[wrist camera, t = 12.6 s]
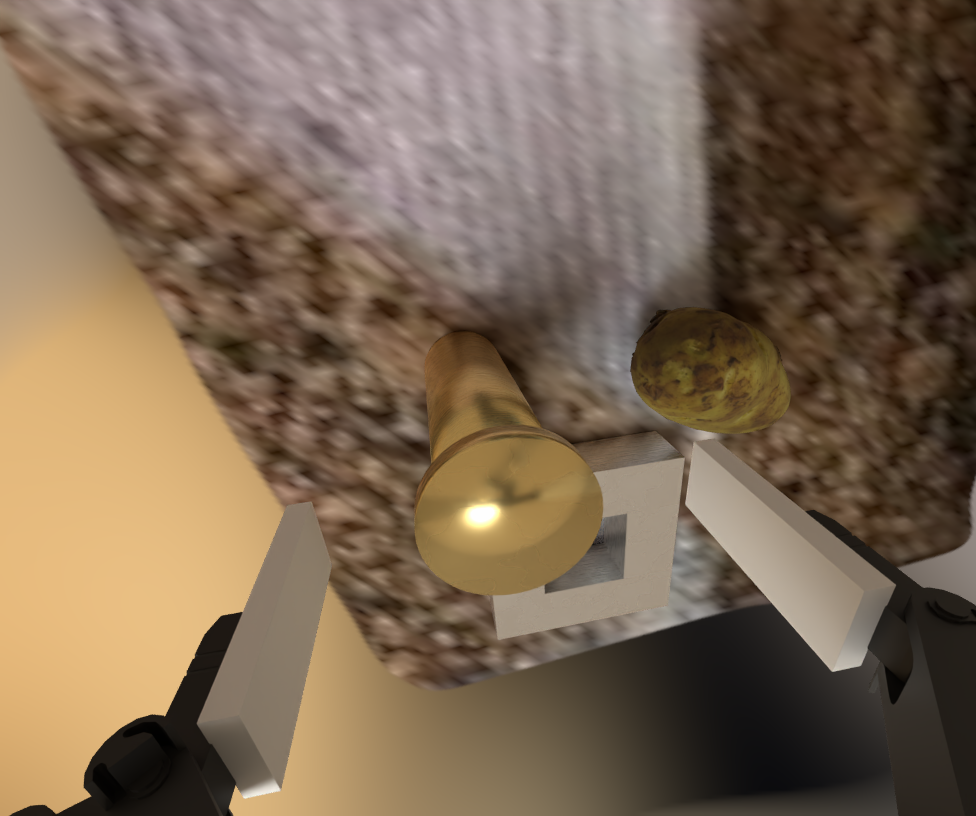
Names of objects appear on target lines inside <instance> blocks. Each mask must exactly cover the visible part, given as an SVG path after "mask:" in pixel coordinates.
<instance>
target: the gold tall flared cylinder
mask: <svg viewBox="0 0 976 816" xmlns="http://www.w3.org/2000/svg"><path fill="white" fill-rule="evenodd" d="M425 382H426V395H427V408H428V422H429V435H430V449H431V462H432V464H431V465H430V467H429V468H428V469H427V471H426V473H425V474H424V476H423V478H422V480H421V482H420V485H419V487H418V490H417V494H416V499H415V537H416V543H417V546H418V549H419V552H420V554H421V556H422V558H423V560H424V561H425V563H426V564H427V566H428V567H429V568H430V569H431V570H432V571H433V572H434V573H435V574H436V575H437V576H438V577H440V578H441V579H442V580H443V581H445V582H447V583H448V584H450V585H452V586H454V587H456V588H459V589H461V590H464V591H468V592H471V593H476V594H482V595H510V594H517V593H521V592H525V591H529V590H532V589H535V588H538V587H541V586H543V585H545V584H547V583H549V582H551V581H553V580H555V579H556V578H558V577H560V576H561V575H563V574H564V573H566V572H567V571H568V570H570V569H571V568H572V567H573V566H574V565H575V564H576V563H577V562H578V561H579V560H580V559H581V558H582V557H583V556H584V555H585V554H586V552H587V551H588V549H589V548H590V547H591V545H592V543H593V541H594V540H595V538H596V536H597V533H598V531H599V528H600V525H601V521H602V516H603V496H602V492H601V488H600V485H599V483H598V480H597V478H596V476H595V475H594V473H593V471H592V470H591V468H590V467H589V465H588V464H587V463H586V461H585V460H584V458H583V457H582V455H581V454H580V453H579V452H578V450H577V449H576V448H575V447H574V446H573V445H572V444H570V443H569V442H568V441H567V440H565V439H564V438H562V437H561V436H559V435H557V434H555V433H553V432H551V431H548V430H545V429H543V428H542V427H541V425H540V423H539V422H538V420H537V418H536V417H535V415H534V413H533V411H532V410H531V408H530V406H529V405H528V403H527V401H526V400H525V398H524V396H523V394H522V393H521V391H520V389H519V388H518V386H517V384H516V383H515V381H514V379H513V378H512V376H511V374H510V372H509V371H508V369H507V367H506V366H505V364H504V362H503V361H502V359H501V357H500V356H499V354H498V352H497V350H496V349H495V347H494V346H493V344H492V343H491V342H490V341H489V340H488V339H486V338H485V337H483V336H482V335H480V334H477V333H474V332H470V331H457V332H453V333H450V334H447V335H445V336H443V337H442V338H440V339H439V340H438V341H437V342H435V344H434V345H433V346H432V347H431V349H430V350H429V352H428V354H427V357H426V360H425Z"/></svg>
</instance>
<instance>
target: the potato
mask: <svg viewBox="0 0 976 816" xmlns="http://www.w3.org/2000/svg"><path fill="white" fill-rule="evenodd" d="M656 314H657V315H656V316H655V317H653V318H652V319H651V321H650V325H649V326H648V327H647V329H646V330H645V331H644V334H643V335H642V336H641V337H640V339H639V340H638V342H636V343H637V346H636V350H635V352H634V353H633V354H632V355H633V357H632V361H631V370H630V372H631V375H632V380H633V384H634V386H635V389H636V392H637V393H638V394H639V396H640V397H641V399H642V400H643V401H644V402H645V403H646V404H647V405H648V406H649V407H650V408H652V409H653V410H655V411H656V412H658V413H659V414H660V415H662V416H663V417H665V418H666V419H669V420H672V421H674V422H677V423H680V424H682V425H685V426H688V427H691V428H694V429H697V430H703V431H707V432H714V433H732V434H737V433H747V432H753V431H758V430H761V429H764V428H766V427H768V426H770V425H772V424H774V423H775V422H776V421H777V420H779V419H780V418H781V417H782V416H783V414H784V413H785V412H786V410H787V408H788V406H789V403H790V398H791V389H790V384H789V380H788V377H787V374H786V372H785V370H784V367H783V365H782V363H781V361H782V359H781V355H780V352H779V350H778V348H777V346H775V345H774V344H773V343H772V342H771V341H770V340H769V339H768V337H766V336H765V335H764V334H763V333H762V332H761V331H760V330H758V329H757V328H755V327H754V326H752V325H750V324H748V323H745V322H742V321H740V320H737V319H736V318H734V317H732V316H730V315H728V314H726V313H725V312H721V311H716V310H712V309H705V308H697V307H685V308H678V309H675V310H672V311H671V310H659V311H657V312H656Z"/></svg>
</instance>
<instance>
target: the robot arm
mask: <svg viewBox="0 0 976 816" xmlns="http://www.w3.org/2000/svg"><path fill="white" fill-rule="evenodd" d="M685 505H686V506H687V507H688V508H689V509H690V510H691V512H692V513H693V514H694V515H695V516H696V517H697V518H698V520H699V521H700V522H701V523H702V524H703V525H704V526H705V528H706V529H707V530H708V531H709V532H710V533H711V534H712V535H713V537H714V538H715V539H716V540H717V541H718V542H719V543H720V545H721V546H722V547H723V548H724V549H725V550H726V551H727V553H728V554H729V555H730V556H731V557H732V558H733V559H734V560H735V562H736V563H737V564H738V565H739V566H740V567H741V568H742V570H743V571H744V572H745V573H746V574H747V575H748V576H749V578H750V579H751V580H752V581H753V582H754V583H755V584H756V585H757V587H758V588H759V589H760V590H761V591H762V592H763V593H764V595H765V596H766V597H767V598H768V599H769V600H770V601H771V603H772V604H773V605H774V606H775V607H776V608H777V609H778V610H779V612H780V613H781V614H782V615H783V616H784V617H785V618H786V619H787V621H788V622H789V623H790V624H791V625H792V626H793V628H794V629H795V630H796V631H797V632H798V633H799V634H800V635H801V637H802V638H803V639H804V640H805V641H806V642H807V643H808V645H809V646H810V647H811V648H812V649H813V650H814V651H815V652H816V654H817V655H818V656H819V657H820V658H821V659H822V660H823V662H824V663H825V664H826V665H827V666H828V667H829V668H830V670H831V671H833V672H834V671H838V670H843V669H847V668H852V667H857V666H861V664H862V661H863V659H864V657H865V655H866V652H867V650H868V649H869V650H870V651H871V652H872V653H873V654H874V655H875V656H876V657H877V658H878V659H879V660H880V663H879V665H878V667H877V669H876V671H875V673H874V676H873V678H872V680H871V682H870V685H869V689H868V692H870V693H873V694H874V693H875V691H876V689H877V686H879V687H880V693H881V700H882V707H883V714H884V720H885V728H886V734H887V740H888V747H889V755H890V761H891V768H892V774H893V782H894V789H895V795H896V802H897V809H898V815H899V816H976V606H975V605H974V604H973V603H971V602H969V601H968V600H966V599H964V598H962V597H960V596H958V595H955V594H953V593H950V592H948V591H945V590H940V589H935V588H923V587H921V586H920V585H918V584H917V583H916V582H915V581H913V580H912V579H911V578H909V577H908V576H907V575H905V574H904V573H903V572H902V571H900V570H899V569H898V568H896V567H895V566H894V565H892V564H891V563H890V562H889V561H887V560H886V559H885V558H883V557H882V556H881V555H879V554H878V553H877V552H876V551H874V550H873V549H872V548H870V547H869V546H868V547H867V546H866V545H865V543H864V542H863V541H861V540H860V539H859V538H857V537H856V536H852V534H851V532H850V531H848V530H847V529H846V528H844V527H843V526H842V525H840V524H839V523H838V522H837V521H835V520H833V519H831V518H829V517H827V516H825V515H823V514H821V513H819V512H817V511H815V510H810V511H804V510H802V509H801V508H800V507H799V506H797V505H796V504H795V503H794V502H792V501H791V500H790V499H789V498H787V497H786V496H785V495H784V494H782V493H781V492H780V491H779V490H777V489H776V488H775V487H774V486H773V485H771V484H770V483H769V482H768V481H766V480H765V479H764V478H763V477H761V476H760V475H759V474H758V473H756V472H755V471H754V470H753V469H751V468H750V467H749V466H748V465H746V464H745V463H744V462H743V461H741V460H740V459H739V458H738V457H737V456H735V455H734V454H733V453H732V452H730V451H729V450H728V449H727V448H725V447H724V446H723V445H722V444H720V443H719V442H718V441H717V440H715V439H708V440H702V441H696V442H694V444H693V452H692V459H691V466H690V474H689V481H688V488H687V496H686V503H685ZM331 567H332V563H331V560H330V557H329V554H328V551H327V548H326V545H325V542H324V539H323V535H322V532H321V529H320V526H319V523H318V520H317V517H316V514H315V511H314V508H313V504H312V502H306V503H299V504H293V505H287V507H286V510H285V512H284V514H283V517H282V519H281V522H280V524H279V526H278V529H277V531H276V534H275V536H274V538H273V541H272V543H271V546H270V548H269V551H268V553H267V555H266V558H265V560H264V563H263V565H262V567H261V570H260V572H259V575H258V577H257V580H256V582H255V584H254V587H253V589H252V591H251V594H250V596H249V599H248V601H247V604H246V606H245V608H244V611H243V612H240V613H234V614H228V615H223V616H221V617H220V618H219V619H218V620H217V621H216V622H215V623H214V625H213V626H212V627H211V628H210V629H209V630H208V631H207V633H206V634H205V635H204V637H203V639H202V641H201V643H200V645H199V647H198V649H197V651H196V654H195V659H193V660H192V662H191V664H190V666H189V668H188V670H187V675H186V676H184V678H183V680H182V682H181V685H180V687H179V689H178V691H177V693H176V695H175V697H174V699H173V701H172V703H171V705H170V708H169V710H168V712H167V714H166V716H165V717H164V716H162V715H148V716H145V717H142V718H138V719H136V720H134V721H133V722H131V723H129V724H127V725H125V726H124V727H122V728H120V729H119V730H118V731H117V732H116V733H115V734H114V735H112V736H111V737H110V738H109V739H107V740H106V741H105V742H104V744H103V745H102V746H101V747H100V748H99V750H98V751H97V752H96V754H95V755H94V756H93V757H92V759H91V761H90V763H89V765H88V768H87V770H86V772H85V775H84V788H85V789H86V790H87V791H88V793H89V794H90V795H91V797H89V798H87V799H85V800H83V801H81V802H79V803H77V804H75V805H73V806H72V807H69V808H67V809H65V810H63V811H62V812H60V813H58V814H55V813H54V812H53V811H52V810H51V809H50V808H48V807H47V806H45V805H34V806H29V807H27V808H24V809H22V810H20V811H17V812H15V813H13V814H12V815H10V816H233V814H232V812H231V811H230V809H229V805H230V802H231V798H232V795H233V792H234V788H235V785H236V786H237V788H238V790H239V791H240V793H241V794H242V796H243V797H244V798H249V797H254V796H258V795H263V794H267V793H272V792H277V791H281V788H282V783H283V779H284V774H285V770H286V766H287V761H288V757H289V752H290V748H291V743H292V739H293V734H294V730H295V726H296V721H297V717H298V713H299V708H300V704H301V699H302V695H303V690H304V686H305V681H306V677H307V673H308V668H309V664H310V659H311V655H312V651H313V646H314V642H315V637H316V633H317V628H318V624H319V620H320V615H321V611H322V606H323V602H324V597H325V593H326V589H327V584H328V580H329V576H330V571H331Z"/></svg>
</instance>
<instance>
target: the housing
mask: <svg viewBox="0 0 976 816" xmlns="http://www.w3.org/2000/svg"><path fill="white" fill-rule="evenodd" d="M572 445H573V446H574V447H575V448H576V449H577V450H578V452H579V453H580V454H581V455H582V457H583V458H584V460H585V461H586V463H587V464H588V465H589V467H590V468H591V470H592V471H593V473H594V475H595V476H596V478H597V480H598V483H599V485H600V488H601V492H602V496H603V516H602V518H604V538H603V543H601V544H596V545H591V547H590V548H589V549H588V551H587V552H586V554H585V555H584V556H583V557H582V558H581V559H580V560H579V561H578V562H577V563H576V564H575V565H574V566H573V567H572V568H571V569H570V570H568V571H567V572H566V573H564V574H563V575H561V576H560V577H558V578H556V579H555V580H553V581H551V582H549V583H547V584H545V585H543V586H541V587H538V588H535V589H532V590H529V591H525V592H521V593H517V594H510V595H489V598H490V603H491V608H492V613H493V618H494V623H495V628H496V633H497V638H498V640H500V639H505V638H510V637H514V636H519V635H524V634H529V633H534V632H539V631H544V630H549V629H554V628H559V627H564V626H569V625H574V624H579V623H584V622H589V621H594V620H599V619H603V618H608V617H613V616H618V615H623V614H628V613H633V612H638V611H643V610H648V609H653V608H658V607H663V606H668V598H669V590H670V581H671V572H672V564H673V555H674V546H675V538H676V529H677V520H678V512H679V503H680V494H681V486H682V477H683V468H684V459H685V457H684V456H683V455H682V454H680V453H679V452H678V451H677V450H676V449H675V448H674V447H673V446H672V445H671V444H670V443H668V442H667V441H666V440H665V439H664V438H663V437H662V436H661V435H660V434H659V433H657V432H656V431H651V432H644V433H638V434H632V435H625V436H619V437H613V438H606V439H600V440H594V441H587V442H581V443H575V444H572Z"/></svg>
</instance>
